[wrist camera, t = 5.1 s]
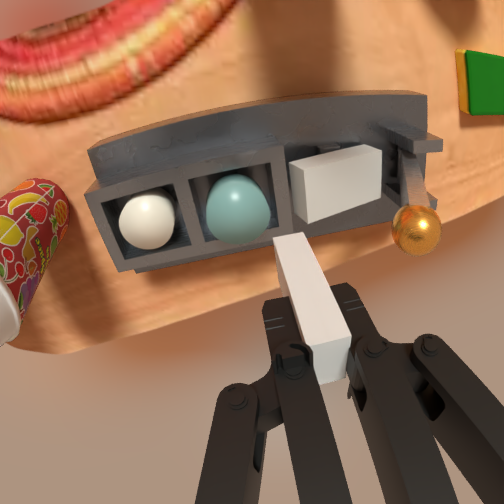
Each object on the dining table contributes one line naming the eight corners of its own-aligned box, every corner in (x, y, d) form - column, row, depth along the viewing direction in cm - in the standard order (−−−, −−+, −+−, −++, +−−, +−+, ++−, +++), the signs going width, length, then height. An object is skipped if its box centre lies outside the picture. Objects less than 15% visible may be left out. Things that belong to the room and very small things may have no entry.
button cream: (136, 236, 24) (130, 254, 22) (119, 193, 21) (111, 207, 19) (182, 226, 24) (180, 242, 22) (168, 180, 21) (164, 193, 19)
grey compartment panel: (141, 255, 29) (128, 303, 23) (99, 140, 22) (66, 166, 16) (405, 201, 29) (443, 235, 24) (408, 90, 22) (457, 103, 17)
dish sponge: (519, 110, 24) (532, 115, 22) (456, 110, 24) (471, 115, 22) (517, 60, 20) (531, 63, 18) (451, 48, 20) (467, 49, 18)
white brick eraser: (294, 212, 22) (308, 223, 21) (288, 162, 20) (303, 170, 19) (364, 189, 24) (380, 197, 23) (364, 144, 22) (381, 150, 20)
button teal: (213, 231, 22) (214, 249, 20) (200, 181, 20) (199, 195, 18) (267, 219, 22) (273, 237, 20) (259, 168, 20) (265, 181, 18)
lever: (389, 177, 25) (387, 267, 15) (389, 142, 23) (394, 212, 14) (420, 181, 23) (438, 273, 14) (422, 145, 22) (450, 219, 12)
